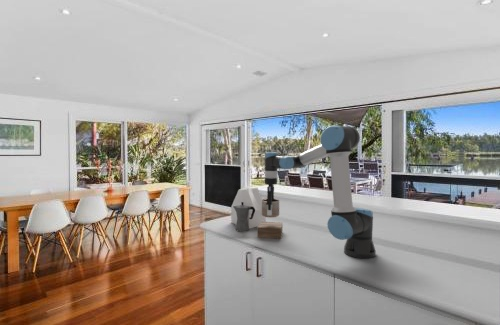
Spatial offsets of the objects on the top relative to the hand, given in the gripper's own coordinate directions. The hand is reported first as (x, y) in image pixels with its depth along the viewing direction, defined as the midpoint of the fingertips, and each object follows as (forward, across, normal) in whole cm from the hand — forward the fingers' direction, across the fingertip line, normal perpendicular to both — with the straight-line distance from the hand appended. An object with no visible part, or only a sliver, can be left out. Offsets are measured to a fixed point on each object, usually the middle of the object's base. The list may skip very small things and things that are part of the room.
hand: (270, 213), depth 182 cm
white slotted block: (+14, -23, -18) cm, 32 cm away
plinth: (+13, 0, 0) cm, 13 cm away
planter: (+2, 0, 0) cm, 2 cm away
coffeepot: (+14, -8, -18) cm, 24 cm away
